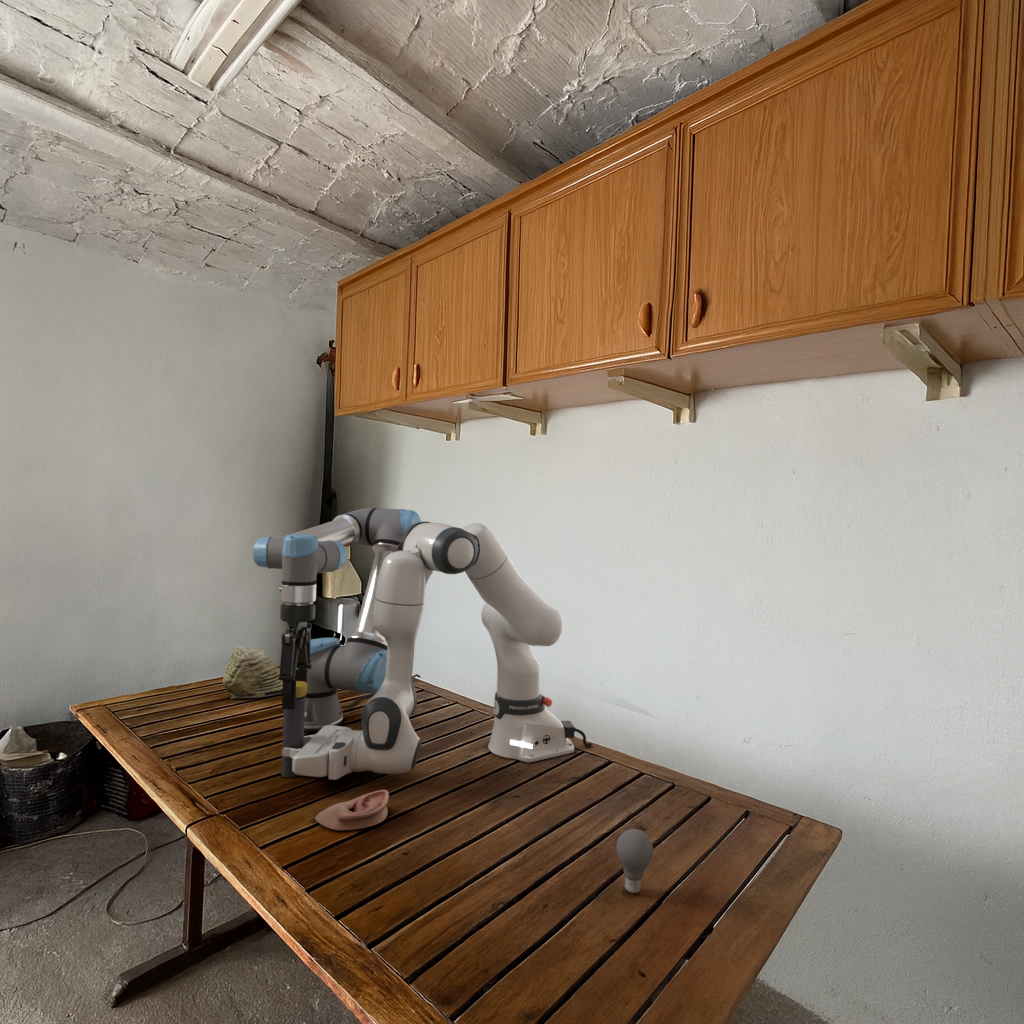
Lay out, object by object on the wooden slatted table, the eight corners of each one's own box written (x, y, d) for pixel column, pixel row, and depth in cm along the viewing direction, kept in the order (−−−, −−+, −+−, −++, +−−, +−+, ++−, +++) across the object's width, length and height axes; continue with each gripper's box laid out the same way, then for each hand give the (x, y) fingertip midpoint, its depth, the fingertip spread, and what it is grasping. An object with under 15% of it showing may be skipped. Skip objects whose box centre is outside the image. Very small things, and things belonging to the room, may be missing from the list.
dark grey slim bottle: (278, 777, 142) (282, 690, 141) (284, 769, 146) (287, 684, 146) (299, 777, 142) (302, 691, 142) (304, 769, 147) (307, 685, 146)
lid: (287, 690, 147) (287, 680, 146) (310, 691, 147) (310, 681, 147) (279, 697, 141) (279, 687, 141) (302, 698, 141) (303, 688, 141)
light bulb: (610, 879, 108) (613, 822, 108) (644, 879, 109) (647, 822, 109) (619, 902, 102) (622, 840, 102) (655, 901, 103) (658, 840, 103)
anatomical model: (307, 805, 121) (336, 780, 133) (306, 826, 121) (335, 798, 133) (372, 815, 119) (395, 788, 130) (371, 836, 119) (394, 807, 130)
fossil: (218, 695, 195) (220, 647, 195) (278, 685, 208) (279, 640, 207) (228, 703, 189) (230, 653, 188) (289, 692, 201) (290, 645, 201)
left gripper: (296, 595, 154) (292, 689, 154) (265, 609, 133) (261, 717, 134) (327, 596, 154) (323, 690, 154) (300, 611, 134) (296, 718, 134)
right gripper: (362, 720, 154) (307, 716, 154) (334, 754, 133) (270, 749, 134) (361, 746, 154) (306, 742, 155) (332, 783, 133) (268, 779, 134)
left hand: (294, 702), depth 144 cm, fingers open, 7 cm apart
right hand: (288, 746), depth 144 cm, fingers closed on dark grey slim bottle, 4 cm apart
